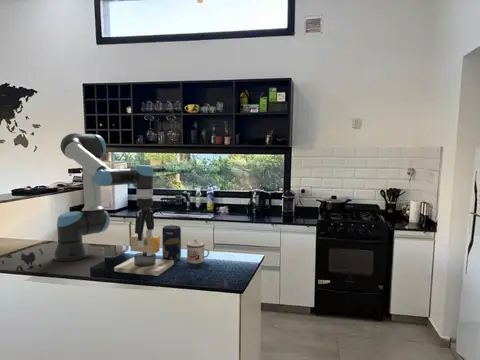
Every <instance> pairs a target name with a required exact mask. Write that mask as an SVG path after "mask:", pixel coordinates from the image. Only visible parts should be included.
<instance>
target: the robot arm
mask: <svg viewBox="0 0 480 360" xmlns="http://www.w3.org/2000/svg"><path fill="white" fill-rule="evenodd" d="M106 145H107V144H106V142H105V139H104V138H103V137H102V136H101V135H99V134H93V133H69V134H67V135H65V136H64V137H63V138H62V139H61V141H60V147H59V148H60V151H61V152H62V154H63V155H64V156H65V157H66V158H67V159H69V160H74V162H76V163H77V165H80V166H81V167H82V181H83V201H84V207H83V208H82V209H81V211H80V210H79V211H77V210H75V211H68V212H64V213H61V214H59V215H58V217H57V221H56V227H57V245H56V248H55V252H54V256H53V257H54V261H57V262H73V261H74V262H75V261H79V260H83V259H85V258H87V251H86V248H85V246H84V242H83V236H88V235H94V234H100V233H103V232H105V231H106V230H107V229H108V228H109V226H110V223H111V222H110V221H111V220H110V219H111V218H110V214H109V213H108V211H106V210H105V207H104V206H103V205H102V190H101V187H109V186H120V185H123V186H124V185H136V206H137V207H139V208H138V211H135V228H134V233H135V235H138V247H142V248H143V247H144V235H145V236H153V230H155V220H154V210H155V209H154V207H152V206H153V205H154V199H153V196H154V194H153V193H154V188H153V187H154V171H153V170H154V169H153V166H152V165H150V164H149V165H147V164H139V165H136V168H130V167H127V168H126V167H125V168H113V169H112V168H111V167H110V166H108V165H106V163H104V162H103V161H101V160H102V159H103V156H104V155H105V154H106V150H107V146H106ZM145 225H146V230H145V234H144V228H145Z"/></svg>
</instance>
